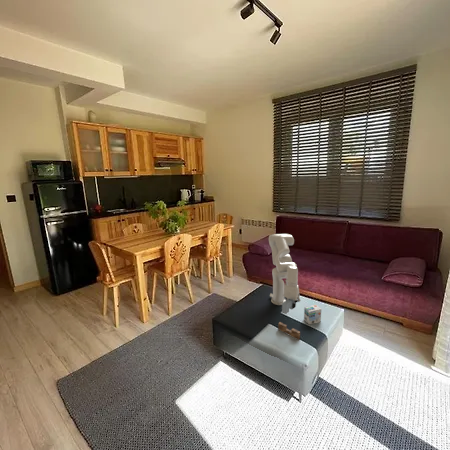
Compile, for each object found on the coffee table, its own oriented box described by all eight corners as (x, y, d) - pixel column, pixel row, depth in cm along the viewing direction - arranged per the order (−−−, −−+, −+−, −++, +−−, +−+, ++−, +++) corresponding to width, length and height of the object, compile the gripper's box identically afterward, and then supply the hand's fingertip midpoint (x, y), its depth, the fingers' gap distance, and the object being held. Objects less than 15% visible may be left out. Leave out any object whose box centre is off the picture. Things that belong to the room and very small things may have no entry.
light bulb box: (308, 324, 176) (309, 311, 174) (303, 319, 182) (304, 306, 180) (321, 321, 179) (321, 309, 176) (315, 316, 185) (316, 304, 183)
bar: (282, 312, 166) (282, 303, 165) (291, 305, 174) (291, 297, 173) (285, 314, 164) (286, 304, 162) (294, 307, 172) (294, 298, 171)
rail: (278, 329, 172) (278, 323, 171) (279, 327, 174) (280, 321, 172) (298, 339, 161) (298, 333, 160) (299, 338, 162) (300, 331, 161)
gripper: (279, 281, 171) (278, 304, 175) (299, 288, 160) (299, 313, 163) (284, 278, 176) (284, 301, 180) (305, 284, 165) (304, 308, 168)
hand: (291, 306), depth 171 cm, fingers closed on bar, 3 cm apart
